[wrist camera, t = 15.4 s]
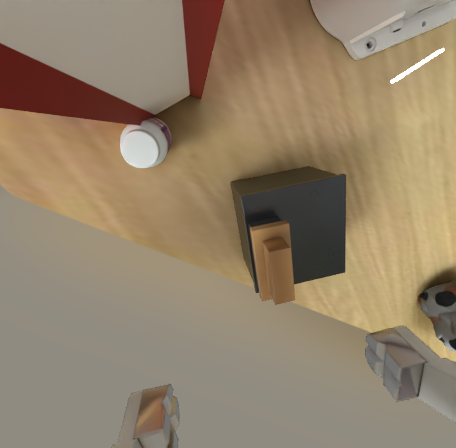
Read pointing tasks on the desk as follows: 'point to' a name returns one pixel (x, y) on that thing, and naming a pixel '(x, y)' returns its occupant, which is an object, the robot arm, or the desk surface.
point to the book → (104, 56)
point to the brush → (273, 259)
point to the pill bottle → (145, 143)
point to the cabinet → (297, 217)
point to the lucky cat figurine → (441, 311)
